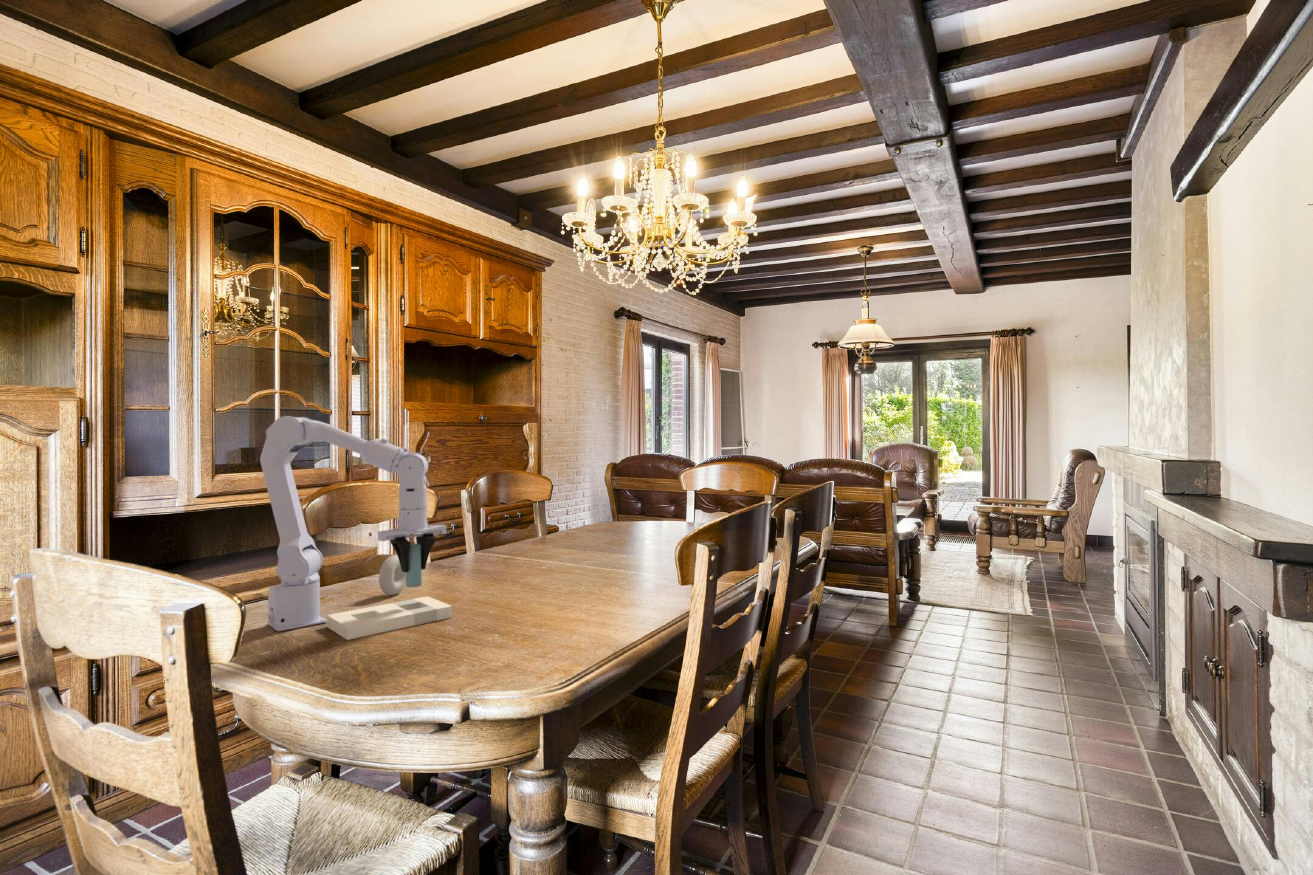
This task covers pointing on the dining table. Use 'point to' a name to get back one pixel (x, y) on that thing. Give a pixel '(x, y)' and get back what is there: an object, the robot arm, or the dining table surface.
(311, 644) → the dining table surface
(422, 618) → the peg board
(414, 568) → the peg
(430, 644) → the dining table surface
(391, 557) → the donut
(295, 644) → the dining table surface
